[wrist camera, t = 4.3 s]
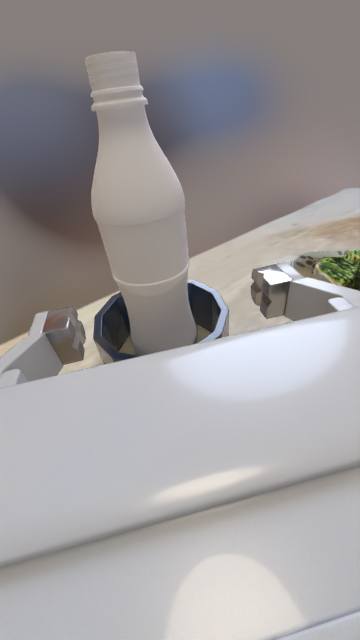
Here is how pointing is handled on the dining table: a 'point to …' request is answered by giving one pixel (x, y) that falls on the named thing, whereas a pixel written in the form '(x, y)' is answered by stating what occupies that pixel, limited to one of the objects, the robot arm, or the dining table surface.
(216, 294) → the dark grey faceted ring
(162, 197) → the water bottle
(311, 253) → the avocado toast plate
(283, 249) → the dining table surface
